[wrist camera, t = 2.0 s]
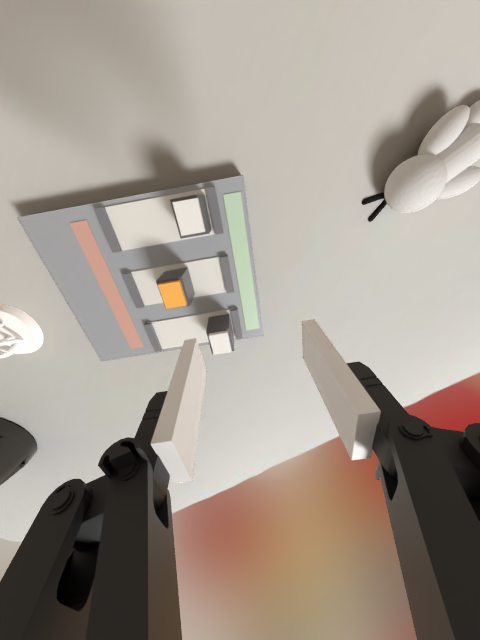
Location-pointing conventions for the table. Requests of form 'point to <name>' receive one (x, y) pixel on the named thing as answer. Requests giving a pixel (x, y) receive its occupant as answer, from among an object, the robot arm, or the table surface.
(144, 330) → the panel
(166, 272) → the breaker mid
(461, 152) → the toy
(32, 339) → the figurine
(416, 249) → the table surface
